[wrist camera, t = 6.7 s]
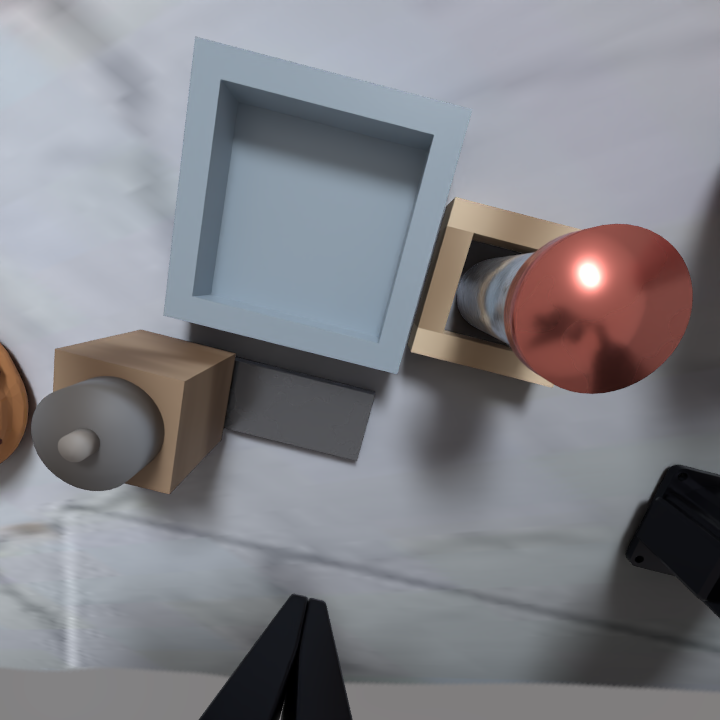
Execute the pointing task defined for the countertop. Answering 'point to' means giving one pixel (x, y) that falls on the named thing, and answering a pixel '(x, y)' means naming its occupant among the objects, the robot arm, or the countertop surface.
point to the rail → (297, 409)
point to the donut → (11, 406)
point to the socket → (443, 279)
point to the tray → (307, 204)
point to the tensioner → (132, 411)
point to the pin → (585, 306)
